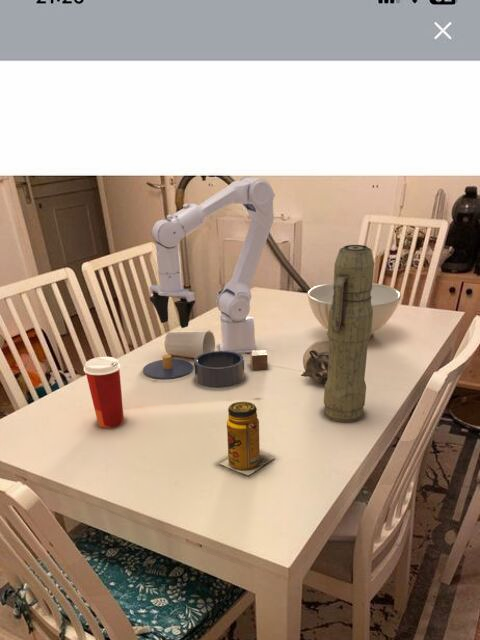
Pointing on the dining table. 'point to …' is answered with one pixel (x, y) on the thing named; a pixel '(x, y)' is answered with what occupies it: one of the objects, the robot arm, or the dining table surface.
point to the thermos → (349, 334)
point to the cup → (189, 343)
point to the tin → (219, 369)
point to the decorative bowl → (381, 300)
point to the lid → (168, 368)
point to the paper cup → (105, 390)
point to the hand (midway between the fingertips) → (174, 324)
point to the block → (258, 359)
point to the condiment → (244, 439)
